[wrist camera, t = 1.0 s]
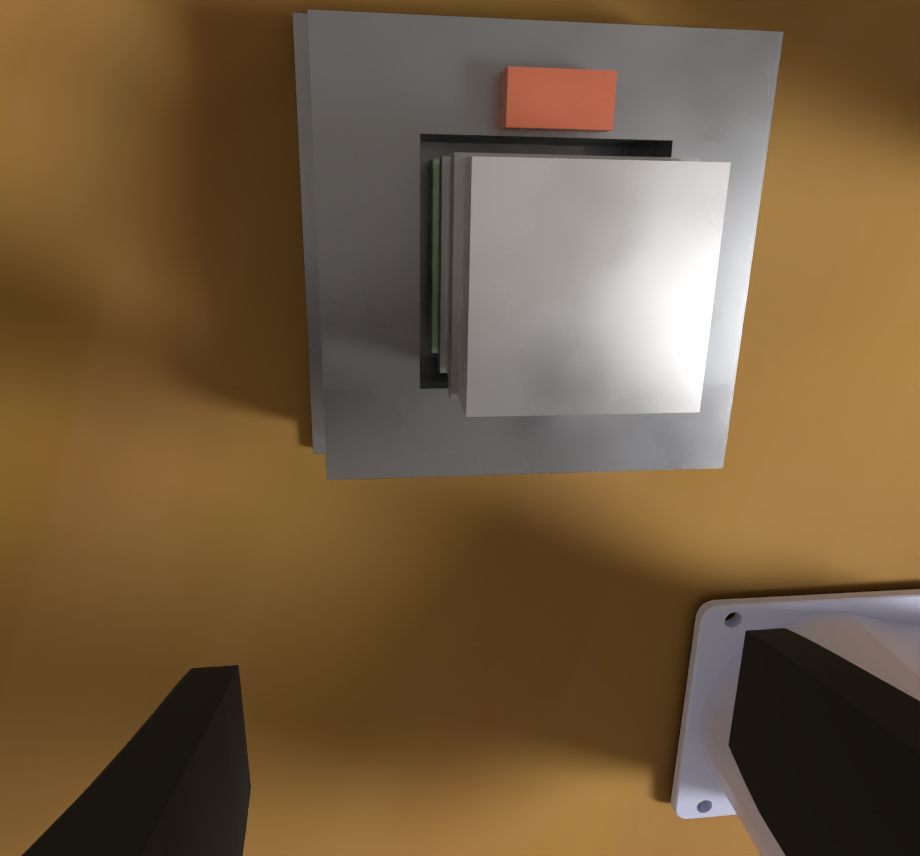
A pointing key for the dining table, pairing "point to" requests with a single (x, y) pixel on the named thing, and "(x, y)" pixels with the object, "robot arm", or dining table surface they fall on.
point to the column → (573, 281)
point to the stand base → (512, 132)
